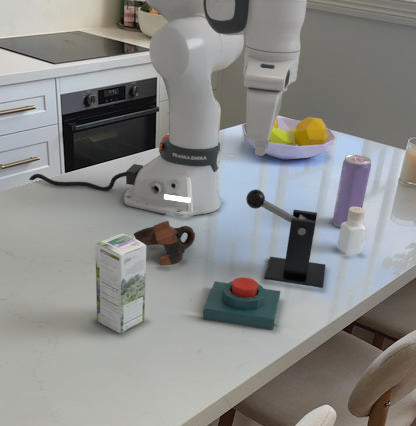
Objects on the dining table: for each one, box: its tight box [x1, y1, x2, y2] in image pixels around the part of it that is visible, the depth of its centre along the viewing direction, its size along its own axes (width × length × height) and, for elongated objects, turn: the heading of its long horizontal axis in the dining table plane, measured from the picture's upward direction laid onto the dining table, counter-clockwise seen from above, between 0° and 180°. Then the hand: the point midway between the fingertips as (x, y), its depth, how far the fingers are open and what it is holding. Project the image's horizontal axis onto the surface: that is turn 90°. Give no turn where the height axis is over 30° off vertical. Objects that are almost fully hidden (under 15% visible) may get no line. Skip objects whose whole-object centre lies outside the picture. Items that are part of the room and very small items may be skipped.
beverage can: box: [332, 154, 372, 229], centre depth 147 cm, size 6×6×15 cm
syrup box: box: [95, 233, 147, 334], centre depth 107 cm, size 6×6×14 cm
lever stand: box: [264, 209, 326, 289], centre depth 126 cm, size 11×9×12 cm
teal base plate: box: [202, 280, 281, 331], centre depth 116 cm, size 12×10×4 cm
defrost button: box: [231, 276, 259, 298], centre depth 115 cm, size 4×4×2 cm
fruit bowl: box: [241, 116, 337, 160], centre depth 188 cm, size 28×27×11 cm
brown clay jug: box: [133, 220, 196, 266], centre depth 131 cm, size 12×10×8 cm
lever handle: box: [246, 189, 310, 223], centre depth 123 cm, size 13×3×3 cm, turn 79°
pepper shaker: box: [336, 207, 367, 255], centre depth 137 cm, size 4×4×10 cm
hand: (261, 151), depth 117 cm, fingers closed
